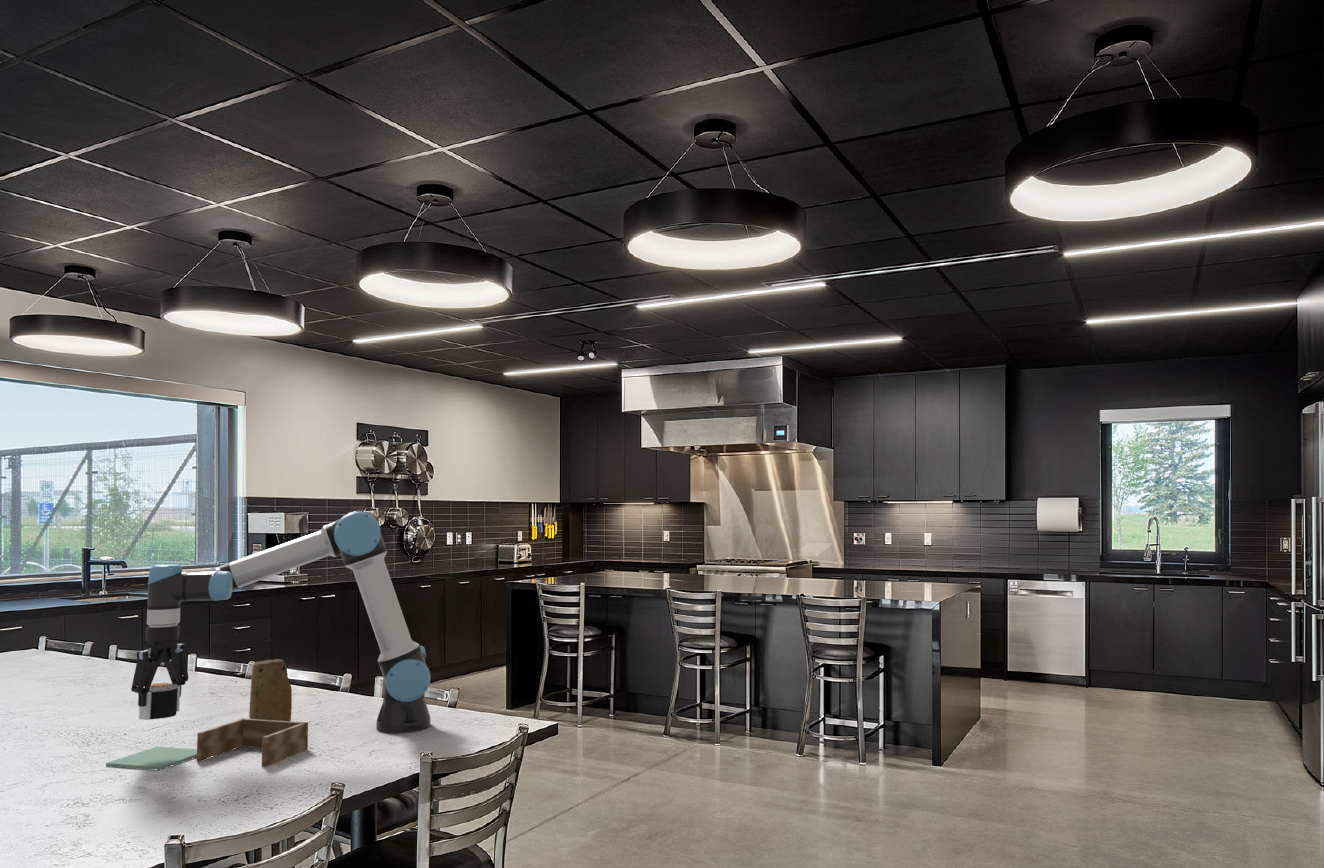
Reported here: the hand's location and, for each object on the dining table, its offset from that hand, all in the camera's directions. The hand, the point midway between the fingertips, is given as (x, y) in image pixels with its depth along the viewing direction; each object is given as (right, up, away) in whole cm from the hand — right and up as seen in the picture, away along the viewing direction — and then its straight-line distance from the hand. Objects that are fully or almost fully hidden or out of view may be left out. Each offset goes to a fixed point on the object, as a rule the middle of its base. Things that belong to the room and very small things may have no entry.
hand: (159, 715), depth 231 cm
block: (+16, -14, +28) cm, 35 cm away
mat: (0, -11, -1) cm, 11 cm away
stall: (+23, -11, +3) cm, 26 cm away
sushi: (0, 0, 0) cm, 0 cm away
